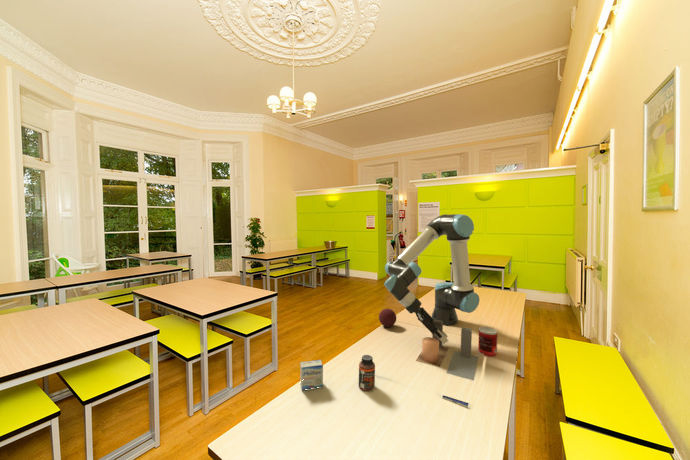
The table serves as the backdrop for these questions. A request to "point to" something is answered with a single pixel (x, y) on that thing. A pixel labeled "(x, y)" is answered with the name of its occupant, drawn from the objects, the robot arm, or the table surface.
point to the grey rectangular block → (464, 358)
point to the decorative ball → (387, 317)
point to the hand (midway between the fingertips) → (445, 339)
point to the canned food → (487, 341)
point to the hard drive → (455, 401)
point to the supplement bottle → (367, 373)
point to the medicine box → (311, 374)
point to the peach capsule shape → (430, 350)
